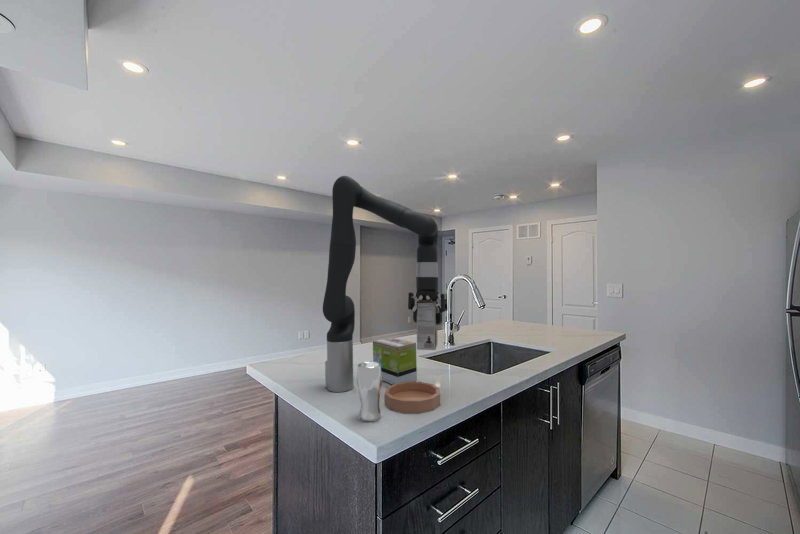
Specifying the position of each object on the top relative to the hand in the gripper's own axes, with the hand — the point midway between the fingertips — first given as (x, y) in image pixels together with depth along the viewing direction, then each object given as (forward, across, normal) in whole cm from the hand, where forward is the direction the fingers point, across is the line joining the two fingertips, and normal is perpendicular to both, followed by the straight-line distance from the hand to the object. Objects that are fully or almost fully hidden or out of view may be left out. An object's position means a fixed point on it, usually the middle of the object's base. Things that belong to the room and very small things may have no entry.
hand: (427, 323), depth 114 cm
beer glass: (+24, -4, -26) cm, 35 cm away
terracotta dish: (+24, 0, -10) cm, 25 cm away
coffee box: (+8, 0, 0) cm, 8 cm away
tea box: (+24, -18, +6) cm, 30 cm away
